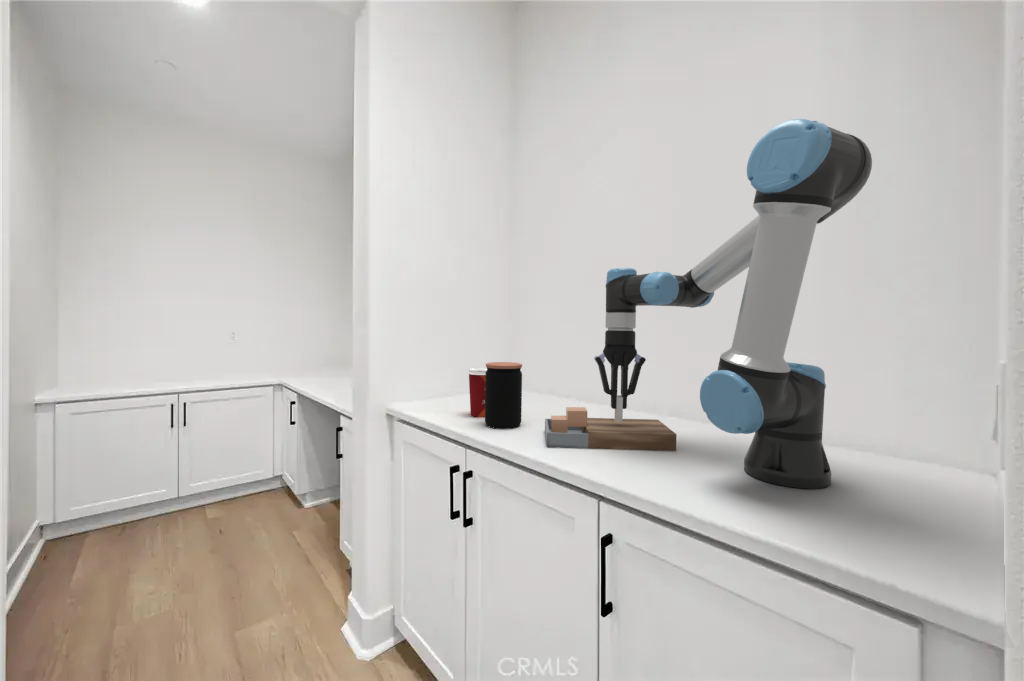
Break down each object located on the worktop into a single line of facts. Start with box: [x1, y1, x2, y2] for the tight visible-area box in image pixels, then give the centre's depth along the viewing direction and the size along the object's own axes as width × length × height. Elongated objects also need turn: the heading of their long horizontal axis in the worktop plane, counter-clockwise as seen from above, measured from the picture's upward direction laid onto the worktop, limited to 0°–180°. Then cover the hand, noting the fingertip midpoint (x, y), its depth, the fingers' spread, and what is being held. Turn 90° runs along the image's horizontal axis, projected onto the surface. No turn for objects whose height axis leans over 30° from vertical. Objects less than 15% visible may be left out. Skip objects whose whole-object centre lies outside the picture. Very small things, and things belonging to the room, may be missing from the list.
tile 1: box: [550, 415, 568, 433], centre depth 118 cm, size 5×5×4 cm
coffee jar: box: [484, 361, 523, 429], centre depth 133 cm, size 11×11×18 cm
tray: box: [544, 418, 589, 449], centre depth 118 cm, size 16×10×4 cm, turn 178°
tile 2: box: [565, 406, 588, 427], centre depth 118 cm, size 5×5×4 cm
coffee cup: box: [467, 367, 487, 418], centre depth 145 cm, size 8×8×15 cm
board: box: [581, 417, 677, 452], centre depth 118 cm, size 16×21×4 cm
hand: (618, 421), depth 117 cm, fingers closed
